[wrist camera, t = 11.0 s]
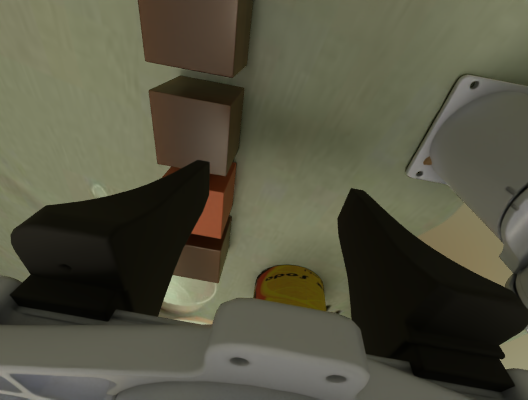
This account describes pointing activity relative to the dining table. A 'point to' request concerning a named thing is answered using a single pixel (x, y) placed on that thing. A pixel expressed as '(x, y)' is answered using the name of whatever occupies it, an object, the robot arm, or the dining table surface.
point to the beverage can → (291, 287)
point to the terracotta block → (215, 203)
